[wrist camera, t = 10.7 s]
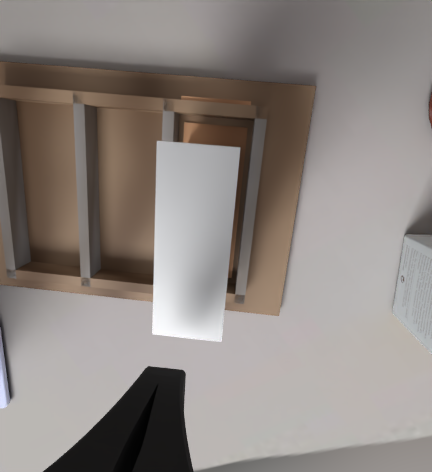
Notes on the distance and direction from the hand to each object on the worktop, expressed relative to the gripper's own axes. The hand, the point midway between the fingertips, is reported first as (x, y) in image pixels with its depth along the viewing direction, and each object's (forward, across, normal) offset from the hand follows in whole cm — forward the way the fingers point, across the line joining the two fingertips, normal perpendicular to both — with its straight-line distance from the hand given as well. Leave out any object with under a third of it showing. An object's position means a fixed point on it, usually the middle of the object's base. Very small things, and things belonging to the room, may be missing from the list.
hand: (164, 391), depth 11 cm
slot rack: (+10, +4, -5) cm, 12 cm away
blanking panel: (+10, 0, -4) cm, 11 cm away
